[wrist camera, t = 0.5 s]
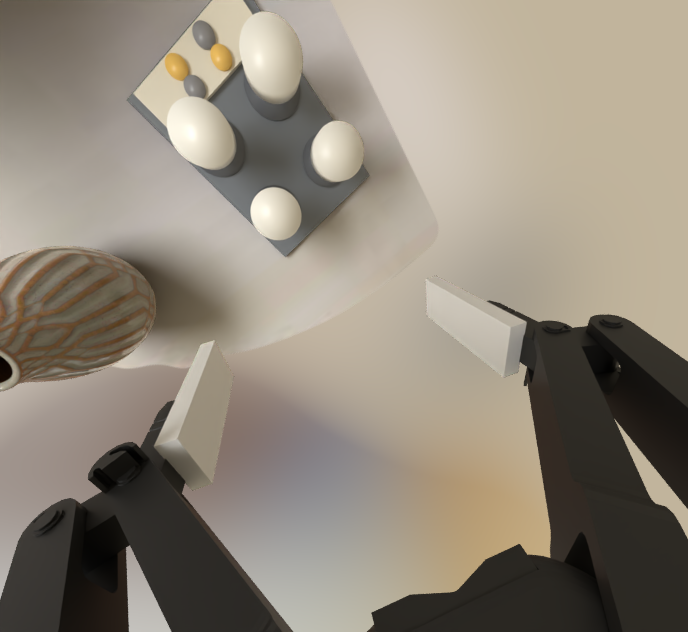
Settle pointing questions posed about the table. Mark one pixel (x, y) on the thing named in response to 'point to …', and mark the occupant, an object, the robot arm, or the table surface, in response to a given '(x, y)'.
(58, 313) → the vase
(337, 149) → the button
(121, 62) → the table surface
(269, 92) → the button
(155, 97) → the board
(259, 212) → the button
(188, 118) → the button
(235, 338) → the table surface
